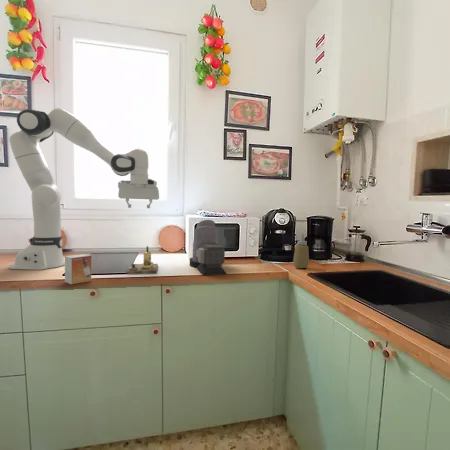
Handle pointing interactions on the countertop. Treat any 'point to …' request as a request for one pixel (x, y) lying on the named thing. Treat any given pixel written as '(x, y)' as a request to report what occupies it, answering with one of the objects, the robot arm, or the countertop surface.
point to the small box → (77, 268)
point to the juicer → (207, 250)
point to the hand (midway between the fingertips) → (139, 208)
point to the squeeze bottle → (301, 253)
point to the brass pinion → (147, 260)
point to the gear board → (141, 269)
